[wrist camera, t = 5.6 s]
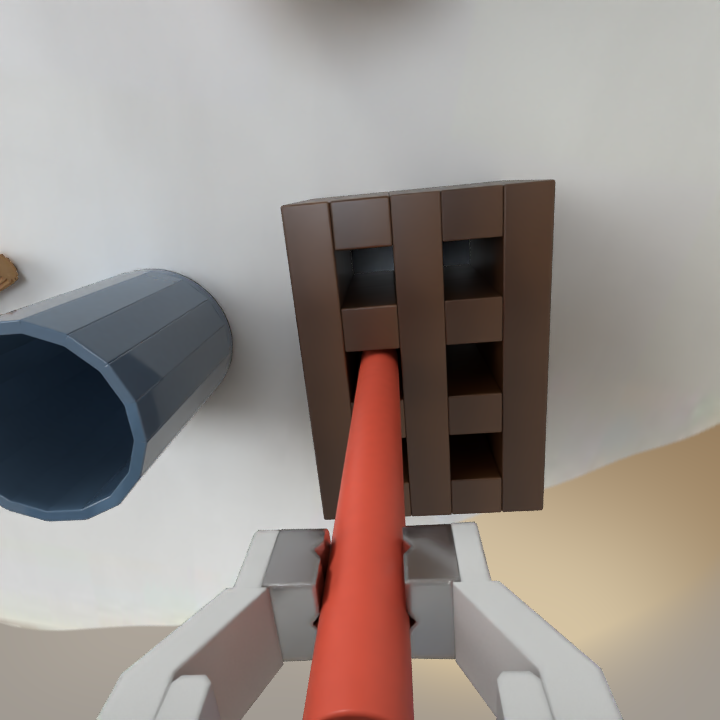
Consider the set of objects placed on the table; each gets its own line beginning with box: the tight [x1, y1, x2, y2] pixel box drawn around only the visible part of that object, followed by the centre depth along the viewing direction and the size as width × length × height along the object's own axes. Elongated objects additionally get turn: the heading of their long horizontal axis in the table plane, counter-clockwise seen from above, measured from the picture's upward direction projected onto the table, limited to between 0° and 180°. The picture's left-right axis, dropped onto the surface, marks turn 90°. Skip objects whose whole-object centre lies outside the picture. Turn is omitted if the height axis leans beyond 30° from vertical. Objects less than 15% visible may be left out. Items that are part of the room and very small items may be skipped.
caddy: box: [281, 180, 555, 520], centre depth 24 cm, size 10×14×8 cm
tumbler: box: [0, 269, 232, 521], centre depth 23 cm, size 8×8×11 cm
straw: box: [303, 349, 414, 720], centre depth 14 cm, size 2×2×16 cm
